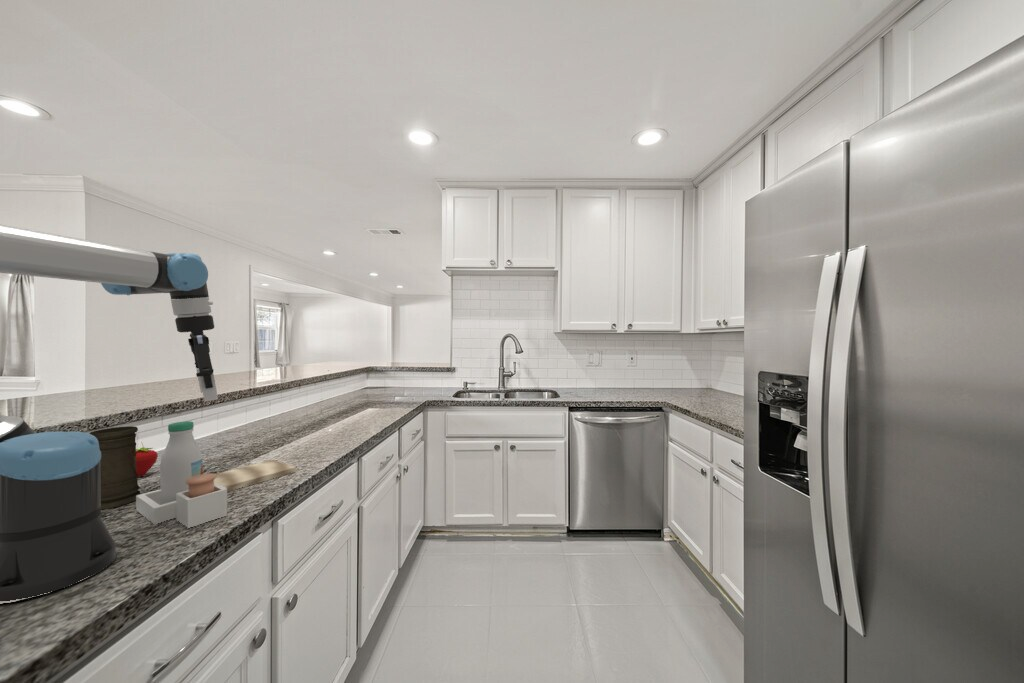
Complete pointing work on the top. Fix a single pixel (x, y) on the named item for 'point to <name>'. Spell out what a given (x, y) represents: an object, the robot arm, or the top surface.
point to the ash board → (252, 474)
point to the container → (117, 466)
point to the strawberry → (145, 460)
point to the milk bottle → (179, 461)
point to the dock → (184, 507)
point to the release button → (201, 484)
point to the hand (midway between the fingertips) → (209, 395)
